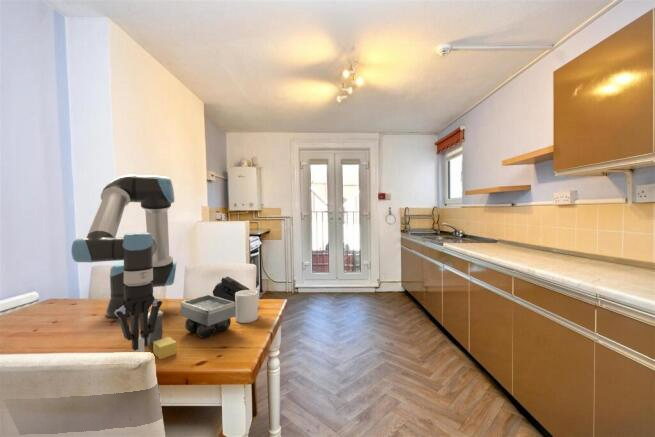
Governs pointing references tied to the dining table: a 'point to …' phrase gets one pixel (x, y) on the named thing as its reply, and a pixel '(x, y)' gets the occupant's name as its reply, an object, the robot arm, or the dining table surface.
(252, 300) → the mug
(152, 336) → the grey tall block
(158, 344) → the block
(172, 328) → the dining table surface
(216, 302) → the grey open rectangular container
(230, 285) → the tool
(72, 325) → the dining table surface
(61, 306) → the dining table surface
